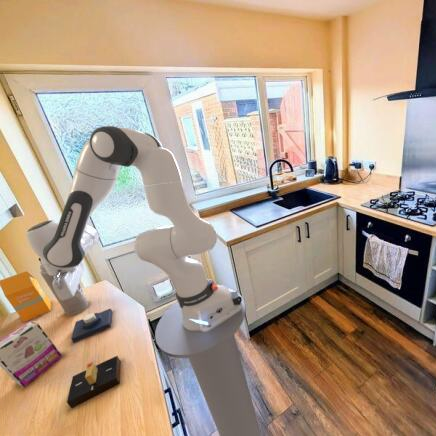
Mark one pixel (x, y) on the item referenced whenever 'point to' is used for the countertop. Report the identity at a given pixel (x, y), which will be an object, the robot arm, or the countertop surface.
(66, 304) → the thermos bottle
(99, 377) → the plate
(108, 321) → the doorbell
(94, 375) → the lock knob
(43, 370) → the candy bar box
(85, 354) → the countertop surface
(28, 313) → the orange juice
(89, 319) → the bell button
